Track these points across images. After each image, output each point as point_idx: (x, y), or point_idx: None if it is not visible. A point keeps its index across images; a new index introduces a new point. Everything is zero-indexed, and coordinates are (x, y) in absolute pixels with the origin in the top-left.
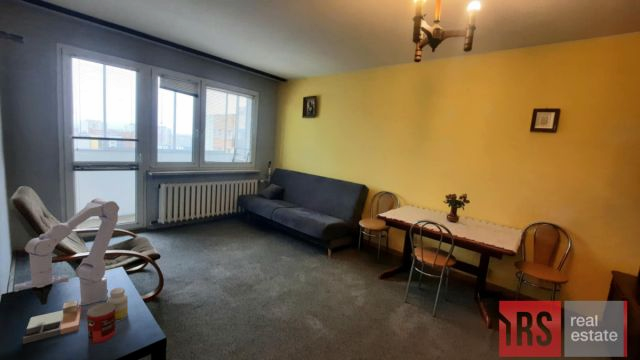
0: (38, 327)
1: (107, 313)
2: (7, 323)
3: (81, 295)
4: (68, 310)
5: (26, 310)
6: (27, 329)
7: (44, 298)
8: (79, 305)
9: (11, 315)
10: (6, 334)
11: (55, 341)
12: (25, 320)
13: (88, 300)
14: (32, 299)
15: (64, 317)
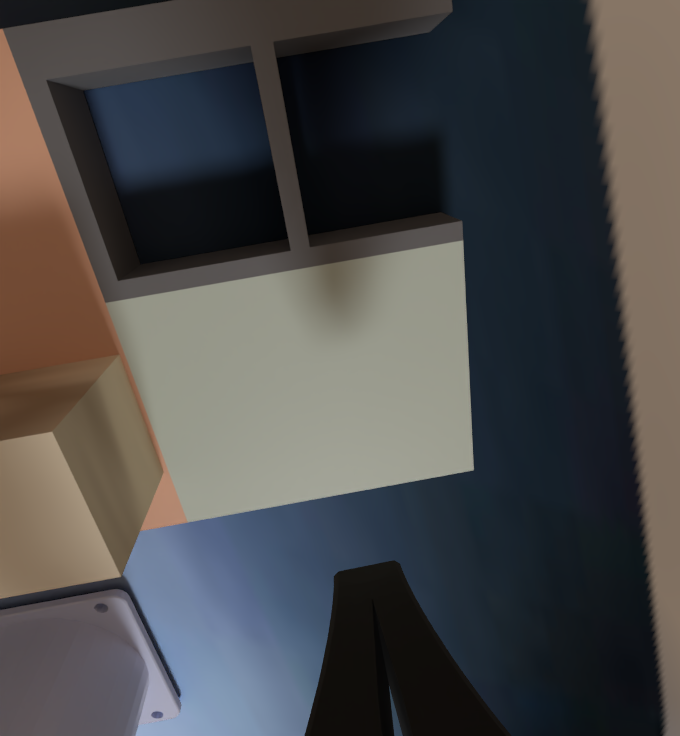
0: (344, 239)
1: None
2: (627, 473)
3: (94, 716)
4: (12, 411)
5: (529, 614)
6: (450, 222)
7: (362, 681)
8: (119, 592)
9: (615, 574)
10: (614, 291)
11: None
12: (507, 480)
13: (34, 640)
14: (520, 728)
15: (106, 358)
